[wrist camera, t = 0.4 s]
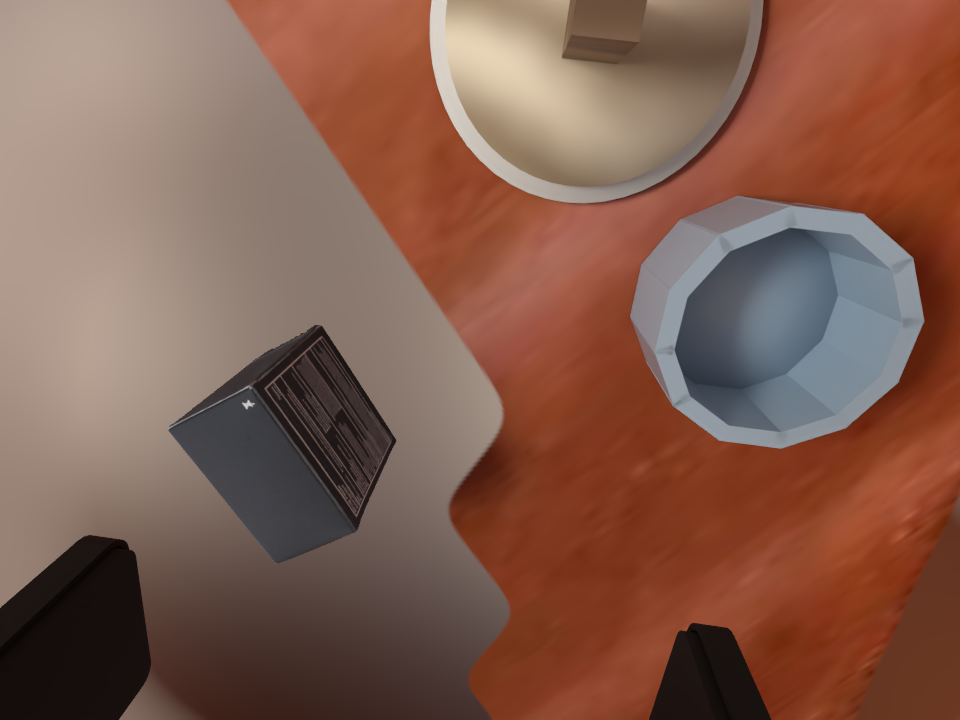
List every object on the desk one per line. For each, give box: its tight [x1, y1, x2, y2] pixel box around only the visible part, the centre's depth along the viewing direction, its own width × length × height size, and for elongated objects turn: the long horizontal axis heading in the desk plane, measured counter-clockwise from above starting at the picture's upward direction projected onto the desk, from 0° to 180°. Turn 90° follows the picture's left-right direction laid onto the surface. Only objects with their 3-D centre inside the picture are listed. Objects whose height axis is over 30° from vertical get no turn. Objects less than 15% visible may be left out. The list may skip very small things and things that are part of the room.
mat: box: [430, 0, 763, 203], centre depth 30 cm, size 18×18×1 cm
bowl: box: [630, 196, 924, 449], centre depth 32 cm, size 13×13×7 cm
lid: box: [445, 0, 751, 187], centre depth 26 cm, size 16×16×7 cm
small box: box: [168, 325, 396, 563], centre depth 35 cm, size 11×6×10 cm, turn 28°
